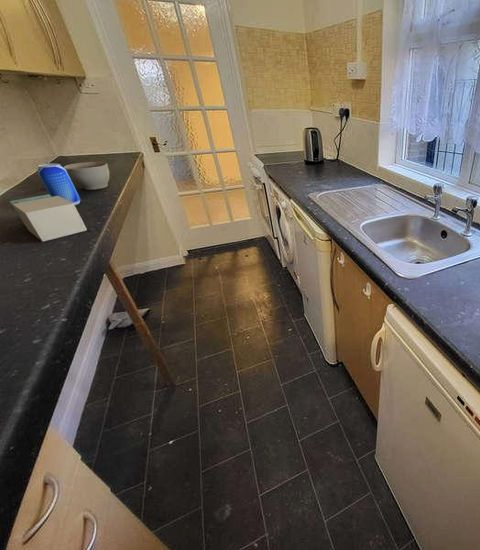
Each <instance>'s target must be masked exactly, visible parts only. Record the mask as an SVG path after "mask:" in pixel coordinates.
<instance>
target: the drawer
mask: <svg viewBox="0 0 480 550" xmlns="http://www.w3.org/2000/svg"><path fill="white" fill-rule="evenodd" d="M48 197H51V196H50V195H49V193H48V194H43V195H36V196H31V197H25V198H19V199H14V200H8V203H10V205H11V206H12V208H13V210H14V211H15V213H16V214H17V216H18V218H19V220H20V221H21V222H22V223H23V224H24V222H23V221H22V219H21V217H20V216H19V214H18V213H17V211H16V209H15V208H14V206H13V205H12V204H15V203H20V202H26V201H32V200H37V199H43V198H48Z"/></svg>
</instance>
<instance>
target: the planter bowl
mask: <svg viewBox="0 0 480 550" xmlns="http://www.w3.org/2000/svg"><path fill="white" fill-rule="evenodd" d="M63 168H64V169H65V170H66V171H67V173H68V175H69V177H70V179H71V180H72V181H73V182H75V183H76V184H77V185H79V186H80V187H82V189H84V190H87V191H88V190H91V191H92V190H100V189H105V188H107V187H108V186H109V184H108V183H109V180H110V170H109V165H108V163H107V162H105V161H85V162H76V163H70V164H67V165H64V166H63Z"/></svg>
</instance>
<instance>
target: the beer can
mask: <svg viewBox="0 0 480 550" xmlns="http://www.w3.org/2000/svg"><path fill="white" fill-rule="evenodd" d="M36 173H37V175H38V177H39V178H40V180H41V183H42V184H43V186H44V188H45V189H46V191H47V193H48V194H49V195H50V196H51V197H54V196H60V197H62V198H64V199H66V200H68V201H70V202H71V203H73V204H74V205H75V206H77V205H80V202H81V197H80V195H79V193H78V191H77V190H76V187H75V185H74V183H73V182H72V181H73V180H72V178H71V177H70V176H69V175H68V173H67V171H66V170H65V169H64V166H62V165H61V164H60V163H50V164H46V163H44V164H43V163H42V164H39V165H37V172H36Z"/></svg>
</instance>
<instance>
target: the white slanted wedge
mask: <svg viewBox="0 0 480 550" xmlns="http://www.w3.org/2000/svg"><path fill="white" fill-rule="evenodd" d="M12 205H13V206H14V208H15V209H16V211H17V213H18V214H19V216H20V217H21V219H22V221H23V222H24V223H23V222H22V221H21V222H22V223H23V224H24V226H25V227H26V229H27V230H28V232H30V233H31V234H32V235H34V236H35V237H36V238H37V239H39V240H40V241H41V242H47V241H51V240H54V239H59V238H62V237H67V236H71V235H75V234H78V233H83V232H86V231H87V230H88V228H87V227H86V225H85V223H84V221H83V219H82V217H81V215H80V213H79V211H78V209H77V208H76V205H74V204H73V203H71V202H70V201H68V200H66V199H64V198H62V197H60V196H54V197H48V198H43V199H37V200H32V201H26V202H20V203H15V204H12ZM12 205H11V206H12ZM14 208H13V209H14ZM16 211H15V212H16ZM17 213H16V214H17ZM19 216H18V217H19ZM21 219H20V220H21Z"/></svg>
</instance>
